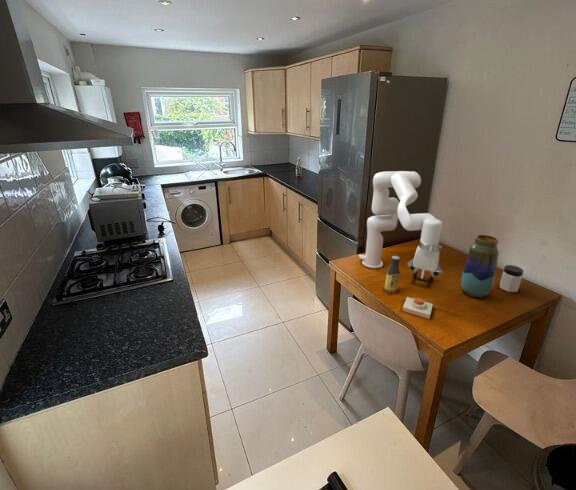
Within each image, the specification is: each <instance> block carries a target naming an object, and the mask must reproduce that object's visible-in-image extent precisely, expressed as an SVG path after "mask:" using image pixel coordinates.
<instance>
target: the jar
mask: <svg viewBox="0 0 576 490" xmlns="http://www.w3.org/2000/svg"><path fill="white" fill-rule="evenodd" d="M523 275H524V269H523V268H521V267H519V266H517V265H512V264H506V265H505V266H504V267H503V271H502V275H501V278H500V282H499V289H500V290H502V291H503V290H504V291H505V292H507V293H518V292H519V288H520V285H521V282H522V279H523Z"/></svg>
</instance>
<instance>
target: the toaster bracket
mask: <svg viewBox="0 0 576 490" xmlns="http://www.w3.org/2000/svg"><path fill="white" fill-rule="evenodd" d="M425 272H426V273H425V277H424V279H426V280H427V281H426V282H424V283H425V284H427V283H428V280H429V276H430V275H429V274H430V271H427V270H426V271H425ZM421 274H422V269H418V270H417V277H418V278H421ZM416 281H417V282H418V281H420V280H416Z"/></svg>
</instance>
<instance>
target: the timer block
mask: <svg viewBox="0 0 576 490" xmlns="http://www.w3.org/2000/svg"><path fill="white" fill-rule="evenodd" d="M415 298H416V297H415ZM415 298H414V297H409V296H406V298H405V300H404V303H403V306H402V312H404V313H409V314H411V315H416V316H417V317H422V318H425V319H428V320H430V319H431V316H432V315H431V314H432V311H433V307H434V304H433V303H431V302H428V301H425V300H423V304H422V305H418V304H416V303H415Z"/></svg>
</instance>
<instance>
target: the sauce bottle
mask: <svg viewBox="0 0 576 490" xmlns="http://www.w3.org/2000/svg"><path fill="white" fill-rule="evenodd" d="M390 260H391V261H390V265H389V266H388V267H387V270H386V275H385V282H384V291H385V293H387V294H389V295H395V293H396V292H397V291H398V285H399V281H400V275H401V274H400V273H401V272H400V267H399V266H400V265H399V264H400V260H401V258H400V256H398V255H392V256H391V259H390Z"/></svg>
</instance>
